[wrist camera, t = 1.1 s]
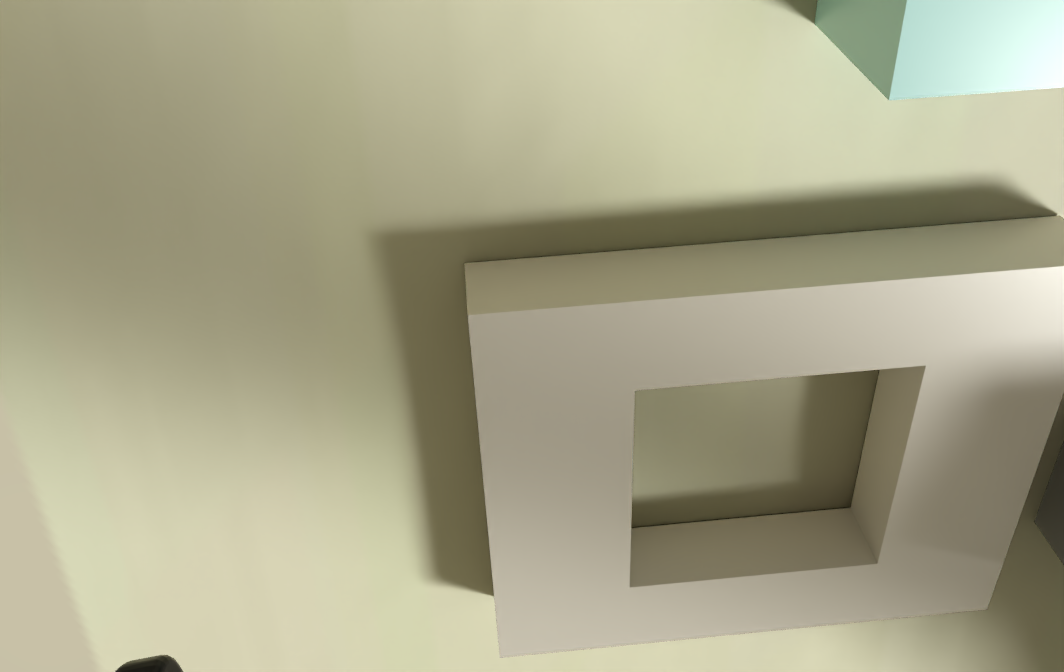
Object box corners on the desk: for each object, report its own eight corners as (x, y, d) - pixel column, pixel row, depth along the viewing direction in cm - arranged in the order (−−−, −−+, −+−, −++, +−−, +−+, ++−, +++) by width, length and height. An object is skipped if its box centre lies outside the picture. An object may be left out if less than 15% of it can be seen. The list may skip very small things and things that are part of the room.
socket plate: (1059, 215, 20) (1110, 261, 18) (955, 553, 26) (987, 609, 24) (464, 263, 19) (467, 314, 18) (495, 598, 25) (499, 658, 24)
